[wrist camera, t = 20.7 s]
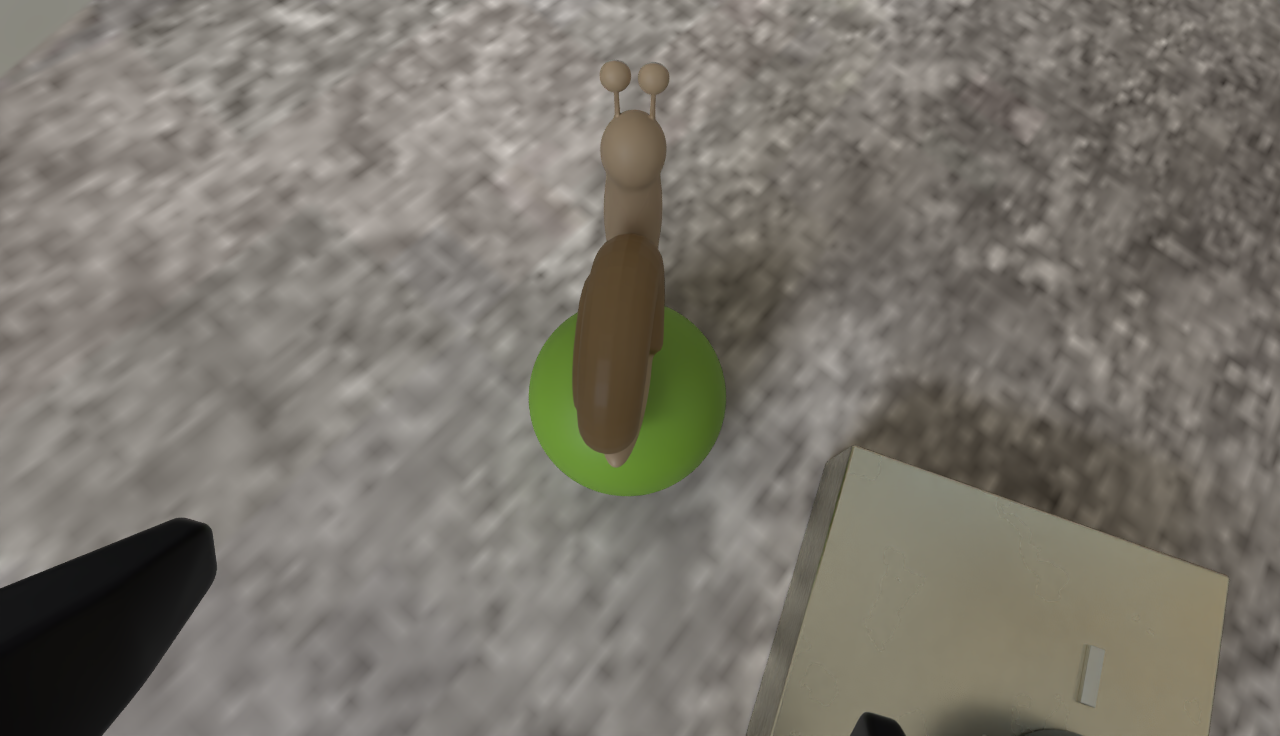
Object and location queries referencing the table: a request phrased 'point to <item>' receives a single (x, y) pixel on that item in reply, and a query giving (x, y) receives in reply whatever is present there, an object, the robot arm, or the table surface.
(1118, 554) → the silver flat block
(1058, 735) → the knob
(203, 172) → the table surface
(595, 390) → the snail figurine
